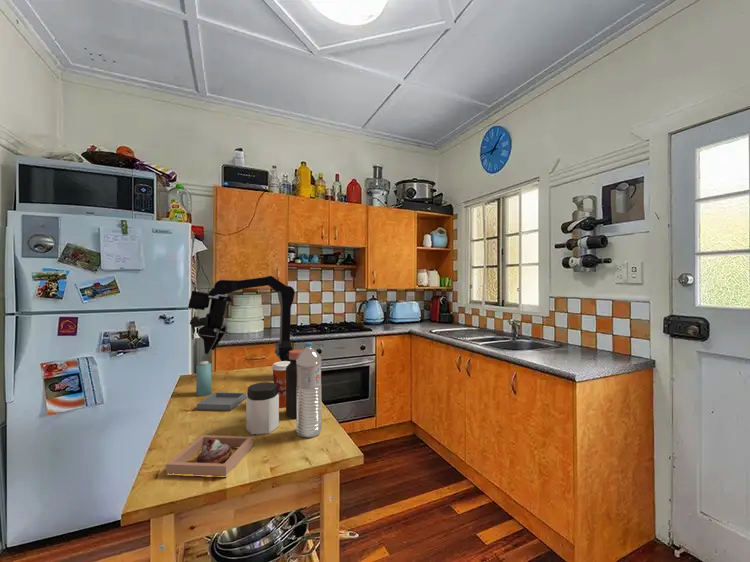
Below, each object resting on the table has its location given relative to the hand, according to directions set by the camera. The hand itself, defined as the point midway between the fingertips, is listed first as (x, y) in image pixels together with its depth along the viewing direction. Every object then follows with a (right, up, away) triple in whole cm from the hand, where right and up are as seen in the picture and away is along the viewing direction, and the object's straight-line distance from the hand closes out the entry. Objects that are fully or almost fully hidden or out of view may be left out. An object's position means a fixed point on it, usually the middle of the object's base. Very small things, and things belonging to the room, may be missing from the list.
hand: (209, 351), depth 128 cm
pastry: (+26, -15, -50) cm, 58 cm away
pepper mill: (+1, -15, -5) cm, 16 cm away
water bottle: (+46, -15, -36) cm, 60 cm away
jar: (+32, -15, -33) cm, 48 cm away
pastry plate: (+26, -15, -50) cm, 58 cm away
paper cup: (+33, -15, -15) cm, 39 cm away
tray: (+12, -15, -15) cm, 24 cm away
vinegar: (+39, -15, -24) cm, 48 cm away
